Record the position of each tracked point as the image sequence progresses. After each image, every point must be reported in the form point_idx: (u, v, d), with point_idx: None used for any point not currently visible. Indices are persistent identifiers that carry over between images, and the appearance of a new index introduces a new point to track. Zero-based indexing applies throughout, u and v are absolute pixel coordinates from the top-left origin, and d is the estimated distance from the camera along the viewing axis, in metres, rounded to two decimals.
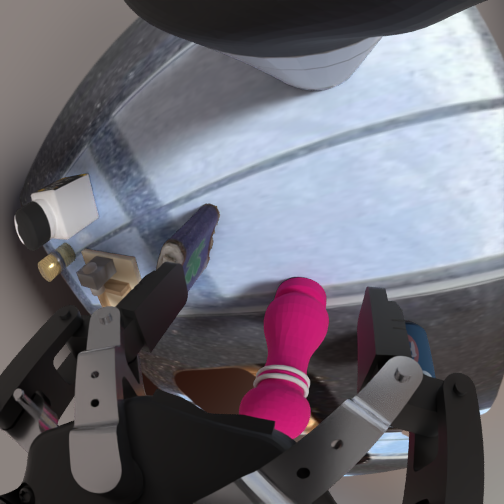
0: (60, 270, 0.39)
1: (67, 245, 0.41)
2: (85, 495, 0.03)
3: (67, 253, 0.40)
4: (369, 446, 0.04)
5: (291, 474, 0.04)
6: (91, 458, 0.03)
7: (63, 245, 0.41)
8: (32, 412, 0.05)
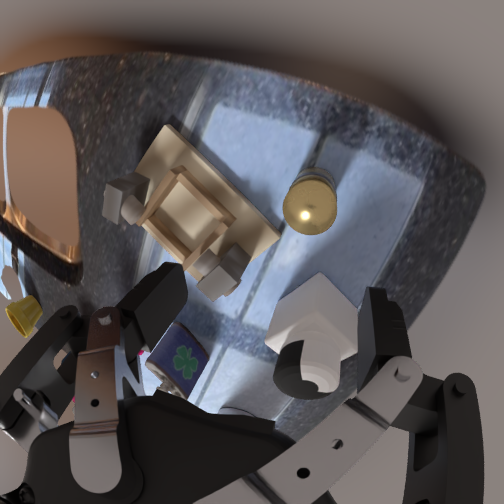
0: None
1: None
2: (85, 495, 0.03)
3: None
4: (369, 446, 0.04)
5: (291, 474, 0.04)
6: (91, 458, 0.03)
7: None
8: (32, 412, 0.05)
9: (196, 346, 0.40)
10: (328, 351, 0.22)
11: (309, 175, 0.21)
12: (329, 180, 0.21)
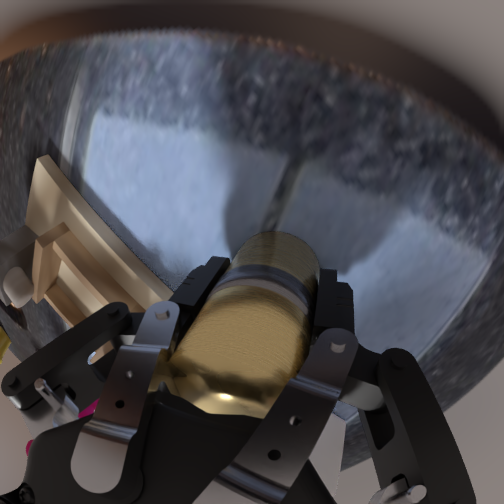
0: None
1: None
2: (85, 495, 0.03)
3: None
4: (327, 415, 0.05)
5: (291, 474, 0.04)
6: (91, 458, 0.03)
7: None
8: (51, 403, 0.05)
9: None
10: None
11: (242, 287, 0.08)
12: (298, 291, 0.09)
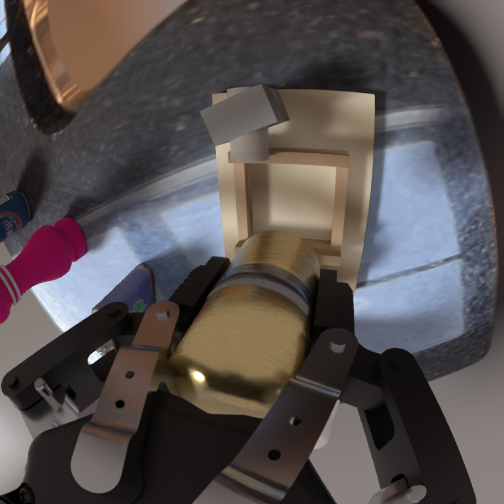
0: None
1: None
2: (85, 495, 0.03)
3: None
4: (327, 415, 0.05)
5: (291, 474, 0.04)
6: (91, 458, 0.03)
7: None
8: (51, 403, 0.05)
9: (150, 302, 0.31)
10: (330, 423, 0.20)
11: (243, 286, 0.08)
12: (299, 290, 0.09)
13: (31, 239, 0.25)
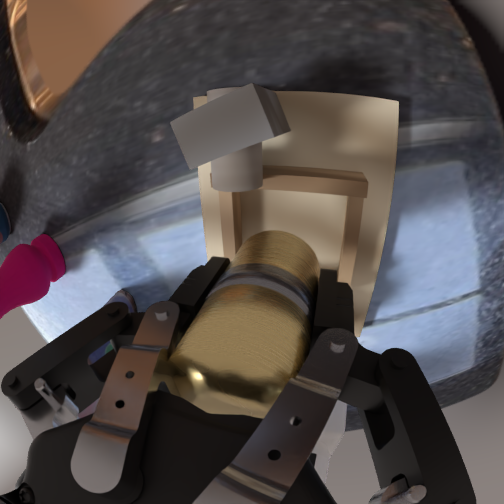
0: None
1: None
2: (85, 495, 0.03)
3: None
4: (327, 415, 0.05)
5: (291, 474, 0.04)
6: (91, 458, 0.03)
7: None
8: (51, 403, 0.05)
9: None
10: (327, 468, 0.17)
11: (242, 286, 0.08)
12: (298, 289, 0.09)
13: (6, 260, 0.21)
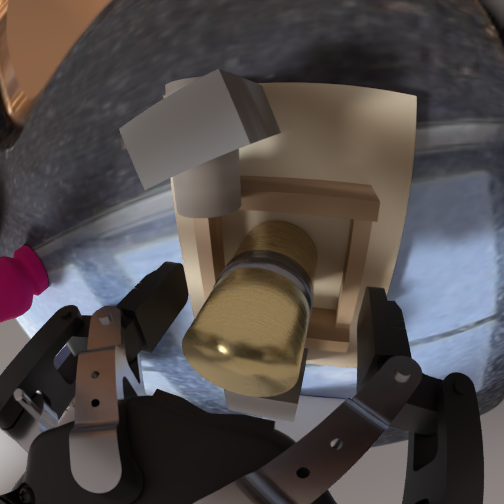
0: None
1: None
2: (85, 495, 0.03)
3: None
4: (369, 446, 0.04)
5: (291, 474, 0.04)
6: (91, 458, 0.03)
7: None
8: (32, 412, 0.05)
9: None
10: None
11: (251, 269, 0.10)
12: (299, 274, 0.10)
13: None
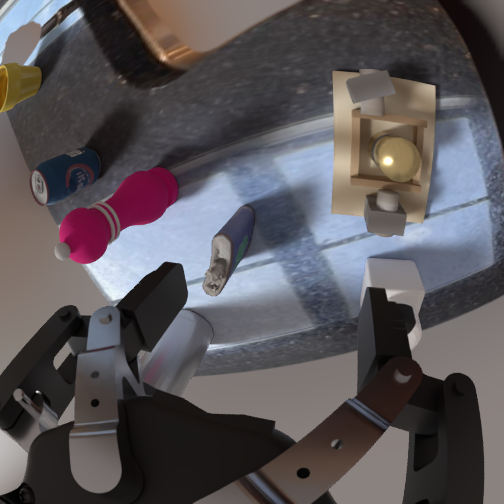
0: (374, 155, 0.23)
1: None
2: (85, 495, 0.03)
3: None
4: (369, 446, 0.04)
5: (291, 474, 0.04)
6: (91, 458, 0.03)
7: None
8: (32, 412, 0.05)
9: (248, 242, 0.37)
10: None
11: (393, 135, 0.21)
12: None
13: (127, 181, 0.31)
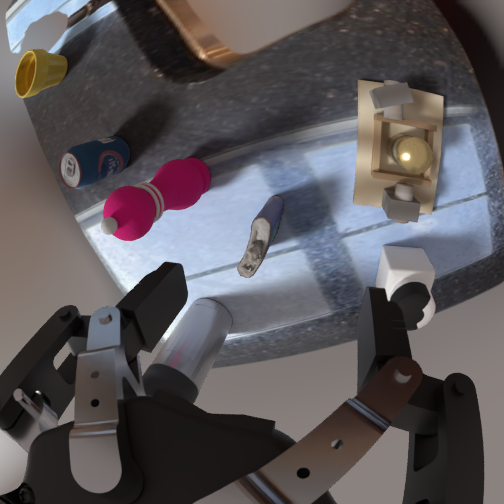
0: (394, 151, 0.26)
1: None
2: (85, 495, 0.03)
3: (396, 162, 0.29)
4: (369, 446, 0.04)
5: (291, 474, 0.04)
6: (91, 458, 0.03)
7: None
8: (32, 412, 0.05)
9: (276, 230, 0.40)
10: None
11: None
12: None
13: (167, 167, 0.33)
